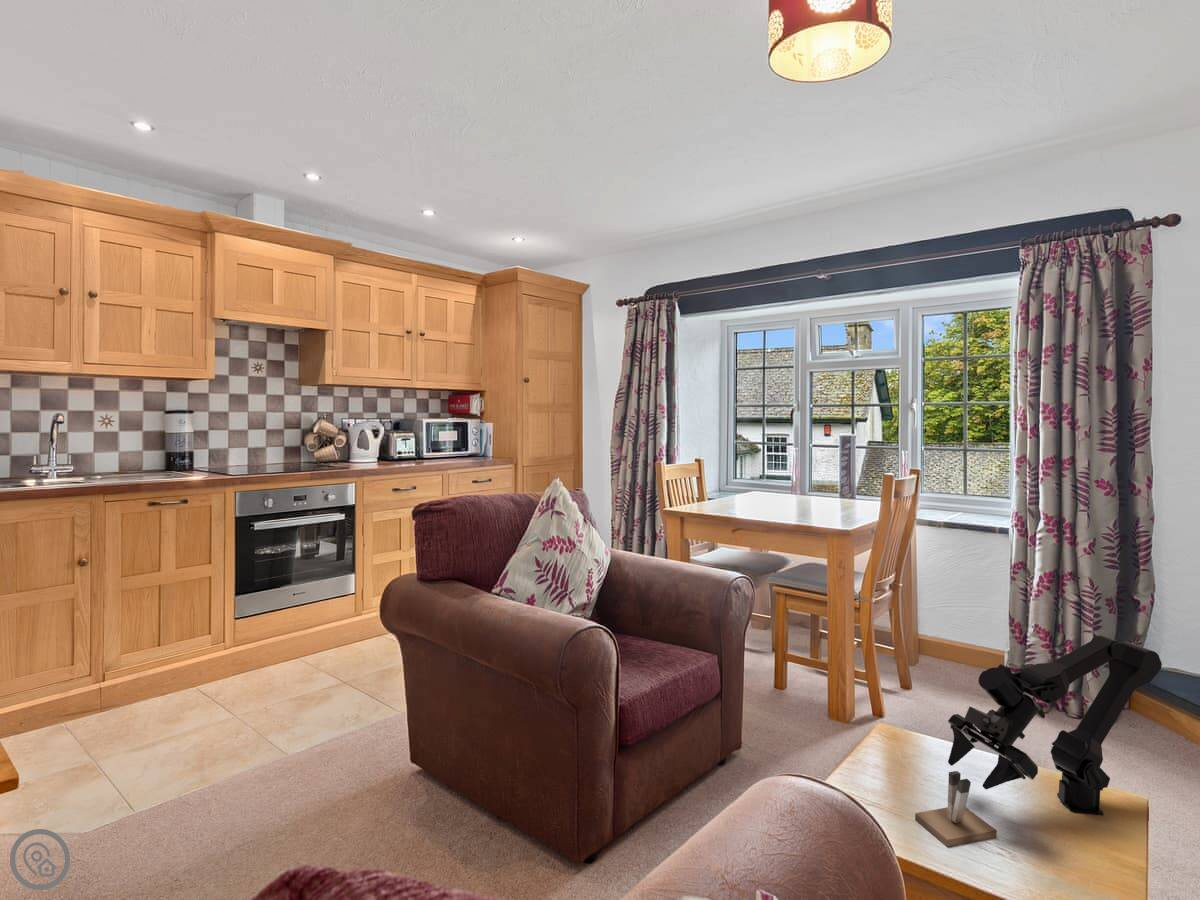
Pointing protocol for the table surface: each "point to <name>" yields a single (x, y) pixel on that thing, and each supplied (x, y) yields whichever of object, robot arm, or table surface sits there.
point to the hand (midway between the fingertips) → (966, 775)
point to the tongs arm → (961, 800)
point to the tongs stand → (950, 831)
